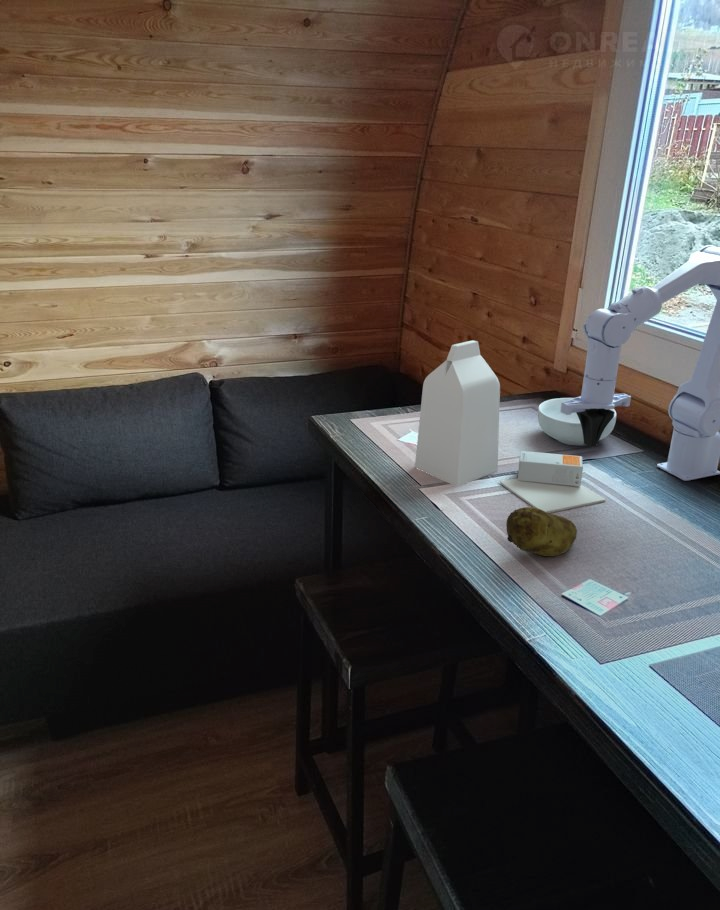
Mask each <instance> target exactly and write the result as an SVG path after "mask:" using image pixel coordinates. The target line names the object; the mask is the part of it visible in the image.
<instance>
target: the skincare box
mask: <svg viewBox="0 0 720 910" xmlns="http://www.w3.org/2000/svg"><path fill="white" fill-rule="evenodd" d="M583 464H584V463H583V456H581V455H580V456H579V455H570V454H559V453H558V454H557V453H547V452H540V451H539V452H537V451H527V450H521V451H519V461H518V471H517V478H518V481H527V482H538V483H548V484H558V485H568V486H578V487H580V486H581V484H582V479H583V470H584V466H583Z"/></svg>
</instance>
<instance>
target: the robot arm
mask: <svg viewBox="0 0 720 910" xmlns="http://www.w3.org/2000/svg"><path fill="white" fill-rule="evenodd" d="M697 285H705V286H706V287H708V288H709V289H710V291H711V293H712V294H713V296H714V297H715V299H716V302H715V306H714V308H713V312H712V315H711V317H710V321H709V324H708V327H707V329H706V332H705V336H704V339H703V342H702V345H701V347H700V352H699V354H698V357H697V360H696V363H695V367H694V369H693V372H692V374H691V378H690V380H688V381H685V382H684V383H681V384H680V385H679V387H678V389H677V392H676V393H675V395H674V396H673V397H672V398H671V401H670V402H669V405H668V415H669V417H670V418H671V420H672V423H671V425H672V426H673V430H672V437H671V441H670V446H669V447H670V448H669V452H668V456H667V461H666V462H661V463H657V465H656V467H657V468H660V469H661V470H663V471H665V472H667V473H668V474H671V475H673V476H674V477H677V478H678V479H680V480H682V481H684V482H685V481H686V482H687V481H691V480H692V481H693V480H698V479H701V478H702V479H703V478H707V477H712V476H716V475H720V470H718V466H719V463H720V432H719V431H720V247H718V246H715V245H712V244H707V245H704V246H702V247H700V248H699V249H698V251H695V252H693V253H691V254H690V256H689V259H688V261H686V262H685V263H684V264H682V265H681V266H679V267H678V268H676V269H675V270H674V271H673V272H671V273H670V274H668V275H667V276H665V277H664V278H662V280H660V281H659V282H658V283H656V284H655V285H653V286H652V287H649V286H640V287H639V286H636V287H634V288H632V289H631V292H630V293H629V294H627V295H626V296H624V297H623V298H621V299H620V300H618V301H614V302H612V303H611V304H610V305H609V307H608V308H599V309H596V310H594V311H593V312H591V314H589V316H588V317H587V319H586V322H584V323H583V325H582V327H583V328H582V330H583V333H584V335H585V337H586V346H587V349H586V358H585V365H584V373H583V381H582V387H581V393H580V395H579V396H577V397H573V398H574V399H572V400H569V401H565V402H562V403H561V411H560V412H562V413H564V414H566V415H571V413H575V412H576V413H577V415H578V418H579V420H580V423H581V426H582V431H583V438H584V444H585V445H584V446H586V447H588V448H596V447H597V445H598V444H599V441H600V440H599V439H600V437H601V435H602V433H603V431H604V429H605V427H606V426H607V425H608V423H609V422H610V421H611V420H612V419H613V417H614V412H613V411H611V410H610V409H614V410H615V407H622V406H623V407H630V405H631V400H632V396H631V395H629V394H626V393H615V391H616V390H615V389H616V384H617V378H618V376H617V375H618V370H619V362H620V358H621V350H622V345H625V344H626V343H627V341H628V340H629V339H630V337H631V335H632V333H633V332H635V331H636V329H637V328H639V327H640V326H641V325H643V324H644V323H646V322H647V321H649V320H651V319H652V318H654V317H656V316H657V315H659V314H660V313H661V310H662V306H663V304H664V303H667V302H668V301H670V300H671V299H672V300H673V298H675V297H678V295H681V294H682V293H684V292H686V291H688V290H690V289H692V288H693V287H696V286H697Z"/></svg>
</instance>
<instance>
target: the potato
mask: <svg viewBox="0 0 720 910" xmlns="http://www.w3.org/2000/svg"><path fill="white" fill-rule="evenodd" d="M505 525H506V527H505V528H506V534H507V541H508V542H509V543H512V544H513V545H514V546H516V548H518V549H519V550H521V551H525V552H529V553H535V554H537V555H538V556H544V557H553V556H554V557H555V556H558V555H561V554H564V553H566V552H567V551H568V550H569V549H570V548H571V547H572V546H573V544H574V542H575V540H576V537H577V534H578V533H577V532H578V529H577V526H576V525H575V523H574V522H572V520H570V519H569V518H567V517H564V516H561V515H557V514H554V513H552V512H551V513H547V512H545V511H543V510H541V509H538V508H534V507H532V506H527V507H522V508H518V509H514V511H512V512H510V514H508V517H507V518H506V524H505Z"/></svg>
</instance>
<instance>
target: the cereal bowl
mask: <svg viewBox="0 0 720 910" xmlns="http://www.w3.org/2000/svg"><path fill="white" fill-rule="evenodd" d="M574 398H575V397H560V398H551V399H547V400H545V401H543V402H541V403H539V405H538V408H537V421H538V425H539V427H540V429H541V430H542V431H543V432H544V433H545V434H546V435H547V436H549V437H551V438H553V439H555V440H557V441H558V442H560V443H562V444H566V445H570V446H586V445H585V444H584V438H583V431H582V426H581V423H580V420H579V418H578V415H577V413H576V412H575V413H571V415H566V414H564V413H562V412H560V411H561V403H562V402H565V401H569V400H572V399H574ZM610 410H611V411H613V412H614V417H613V419H612V420H611V421H610V422H609V423H608V425H607V426H606V427H605V429H604V431H603V433H602V435H601V437H600V439H599V441H601V440H603V439H605V438H607V437H608V436H609V435H610V434H611V433H612V432H613V430H614V428H615V425H616V421H617V412H616V410H615V408H614V409H610Z"/></svg>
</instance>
